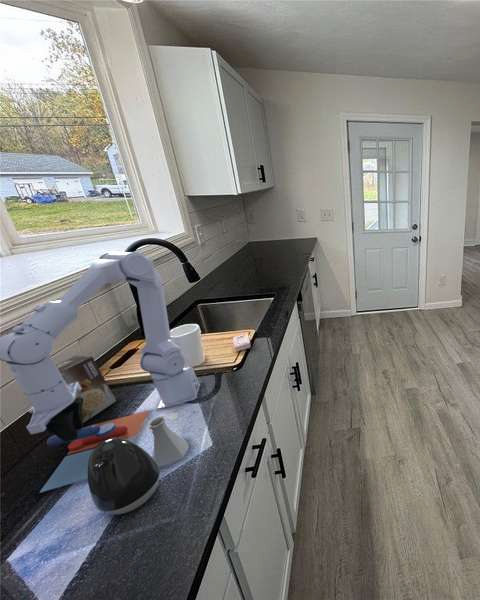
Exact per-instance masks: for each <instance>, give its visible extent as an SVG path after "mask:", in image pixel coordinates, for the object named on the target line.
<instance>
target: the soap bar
mask: <svg viewBox="0 0 480 600" xmlns="http://www.w3.org/2000/svg"><path fill="white" fill-rule="evenodd" d="M232 340H233V349H234V352H240V351H244V350H247V349H250V348H251V346H252V345H251V341H250V340H251V339H250V337H249V333H243V334H240V335H237V336H233V338H232Z"/></svg>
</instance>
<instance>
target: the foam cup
mask: <svg viewBox="0 0 480 600" xmlns="http://www.w3.org/2000/svg"><path fill="white" fill-rule="evenodd" d="M169 330H170V336H171V340H172V341H173V342H174V343H175V344H176V345H178V346H179V347H180V352H181V354H182V355H183V356H184V359H185V365H184V367H192V368H196V367H198V366H200V365H202V364H203V363H205V361H206V358H205V357H206V356H205V351H204V345H203V340H202V335H201V333H202V330H201V327H200V325H199V324H198V323H187V324H183V325H179V326H177V327H174V328H172V329H169Z"/></svg>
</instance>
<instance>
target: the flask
mask: <svg viewBox="0 0 480 600" xmlns="http://www.w3.org/2000/svg"><path fill="white" fill-rule="evenodd" d="M147 427H148V428H149V430H151V431H152V435H153V450H152V458H153V460H154V461H155V462H156V463H157V465H158V467H159V468H160V467H164V466H170V465H171V464H173V463H175V462H177V461H178V460H181V459H182V458H184V456H185V455H186V453H187V451H188V449H190V446H189V444H188V442H187V440H186V439H184V438H183V437H182V436H179V435H178V434H177V433H175V432H174V431H173V430H172V429H170V427H169V426H168V425H167V424H166V418H165V416H157V417H156V418H153V419H151V420H150V421H149V423H147Z"/></svg>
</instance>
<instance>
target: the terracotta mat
mask: <svg viewBox="0 0 480 600" xmlns="http://www.w3.org/2000/svg"><path fill="white" fill-rule="evenodd" d="M149 412H150V410H145V411H141V412H136V413H134V414H129V415H127V416H122V417H117V418H114V419H111V420H110V419H109V420H106V421H102V422H99V423H94V424H91V425H86V427H89V426H93V425H97V426H99V427H100V426H102V425H104V424H107V423H114V424H115V425H116V427H118V426H122V425H124V426H126V427H127V431H126V433H124V434H122V435H118V436H114V437H111V438H115V437H118V438H124V439H130V438H134V437H136V436H138V433H139V432H140V430H141V428H142V426H143V424H144V422H145V420H146V418H147V416H148V414H149ZM107 439H110V438H107ZM107 439H103V440H100V441H96V442H92V443H89V444H87V445H86V446H84V447H83V448H81V449H78V450H76V451H70V450H69V451H68V453H67V454H66V456H69V455H73V454H76V453H80V452H83V451H87V450H91V449H94V448H95V447H96V446H97V445H98V444H99V443H101V442H103V441H104V440H107Z"/></svg>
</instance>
